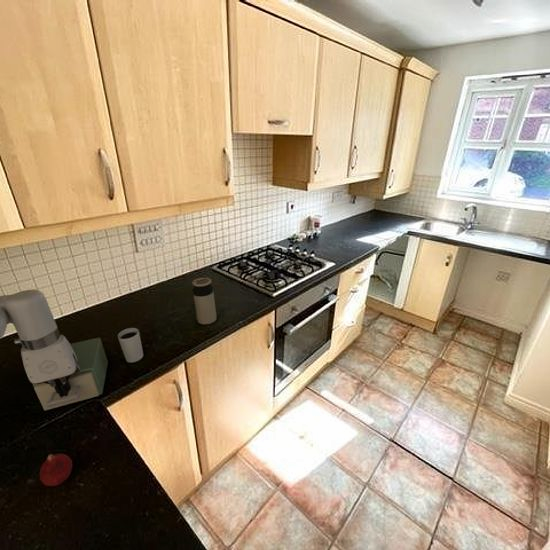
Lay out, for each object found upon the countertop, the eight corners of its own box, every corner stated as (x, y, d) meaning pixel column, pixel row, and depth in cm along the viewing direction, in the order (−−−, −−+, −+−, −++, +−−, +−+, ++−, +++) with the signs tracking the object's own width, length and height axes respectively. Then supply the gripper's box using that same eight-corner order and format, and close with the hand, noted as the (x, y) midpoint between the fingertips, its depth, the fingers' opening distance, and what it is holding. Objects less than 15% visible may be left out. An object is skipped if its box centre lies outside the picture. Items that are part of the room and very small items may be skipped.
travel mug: (220, 317, 129) (215, 279, 121) (208, 326, 122) (203, 287, 115) (205, 313, 132) (200, 276, 125) (193, 322, 126) (187, 283, 118)
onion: (81, 475, 68) (71, 451, 65) (54, 499, 64) (41, 475, 60) (68, 463, 71) (57, 439, 68) (41, 485, 66) (27, 461, 63)
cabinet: (102, 394, 90) (93, 367, 86) (44, 410, 86) (31, 382, 81) (107, 362, 104) (100, 337, 100) (58, 374, 99) (47, 348, 95)
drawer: (96, 408, 84) (87, 385, 81) (39, 424, 80) (27, 401, 77) (104, 365, 101) (97, 344, 98) (57, 376, 97) (48, 355, 93)
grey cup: (137, 348, 110) (131, 325, 106) (148, 355, 107) (142, 331, 103) (120, 359, 105) (113, 335, 101) (131, 365, 102) (124, 341, 98)
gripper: (-2, 355, 69) (28, 412, 77) (72, 338, 74) (93, 394, 82) (10, 337, 76) (37, 392, 83) (78, 323, 80) (97, 376, 88)
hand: (65, 393), depth 82 cm, fingers closed
